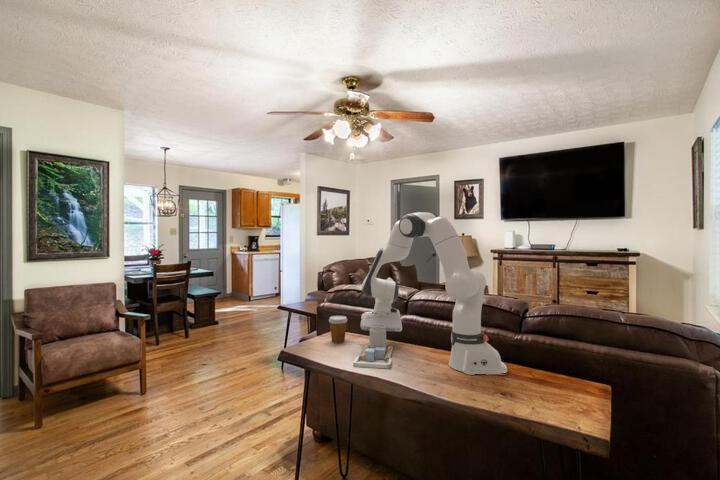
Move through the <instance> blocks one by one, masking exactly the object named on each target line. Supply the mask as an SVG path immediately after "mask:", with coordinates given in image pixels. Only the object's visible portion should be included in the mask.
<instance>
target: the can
mask: <svg viewBox="0 0 720 480" xmlns="http://www.w3.org/2000/svg"><path fill="white" fill-rule="evenodd" d="M384 327H385V326H383V325H372V326H371V329H370V330H369V345H370V348H371V349H376V347H385V352H387V331H386V329H385V328H384Z"/></svg>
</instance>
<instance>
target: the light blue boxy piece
mask: <svg viewBox="0 0 720 480" xmlns="http://www.w3.org/2000/svg"><path fill="white" fill-rule="evenodd" d="M385 355H386V351H385V347H376V349H375V359H377V360H378V359H380V360H385Z"/></svg>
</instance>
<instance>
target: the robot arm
mask: <svg viewBox="0 0 720 480" xmlns="http://www.w3.org/2000/svg"><path fill="white" fill-rule="evenodd" d="M423 237H424V238H425V237H428V238H429V239H430V241H431V243H432V246H433V247H434V250H435V252H436V254H437V256H438V258H439V261H440V263H441V266H442V270H443V275H444V278H445V279H444V280H445V284H444V285H445V292H446V294H447V295H448V296H449V297H450V298H451V299H454V300H455V304H454V307H453V309H452V330H451V333H450V340H451V341H450V342H451V350H450V351H451V352H450V357H449V361H448V366H449V367H450V368H452V370H456V371H459V372H462V373H464V374H466V375H468V376H469V375H474V376H475V374H486V375H501V374H500V373H506V372H507V373H508V367H507V365H506V364H505V363H504V362H503V361H502V359H501V355H500V353H499V351H498V350H497V349H495V348H494V347H493V346H492V345H491V344H489V343H488V341H489V337H488V335H487V334H486V333H484V332H483V331H481V329H482V321H481V320H482V308H483V302H484V296H485V289H486V286H487V279H486V276H485V275H484V274H483V273H482V272H481V271H479V270H476V269H471V268H470V265H469V262H468V256H467V255H468V253H467V251H466V248H465V246H464V245H463V241H461V239H460V238H461V237H460V236H459V233H458V232H457V231H456V229H455V227H454V226H453V223H452V222H451V221H450V220H449V219H448V218H447V217H445V216H439V215H438V214H437V213H435V212H430V211H426V212H425V211H423V212H422V211H417V212H412V213H411V212H410V213H407V214H404V215H403V216H402V217H401V218H400V219H399V220H397V221H396V222H395V223H394V225H393V227H392V230H391V232H390V235H389V238H388V241H387V244H386V245H385V246H383V247H382V248H380V249H379V250H378V251H377V253H376V255H375V257H374V259H373V261H372V263H371V266H370V268H369V270H368V272H367V274H366V276H365V278H364V279H363V282H362V283H361V293H362V294H363V295H364V296H365V297H367V298H374V302H375V304H374V307H373V312H372V311H371V312H368V311H367V312H366V311H365V312H364V313H362V314H361V317H360V319H361V320H360V329H361V330H362V331H370V329H371V326H372V325H383V326H385V327H384V328H385V329H386V332H397V333H400V332H402V331H403V324H402V323H403V322H402V317H401V312H400V310H399V309H397V308H396V307H395V308H394V307H392V304H393V303H394V302H396V301H397V300H398V298H399V294H400V293H399V292H400V291H399V290H400V287H399V284H398V283H397V282H396V281H393V280H388V279H382V278H379V277H377V274H378V272H379V270H380V269H381V267H382V265H385V264H388V263H393V262H400V261H403V260H404V259H406V258H407V257H408V256H409V254H410V252H411V249H412V245H413V242H414V239H415V238H423ZM507 373H506V374H507Z"/></svg>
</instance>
